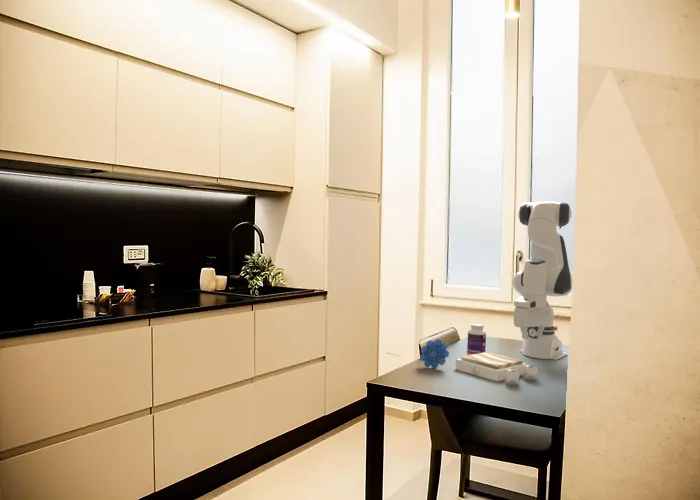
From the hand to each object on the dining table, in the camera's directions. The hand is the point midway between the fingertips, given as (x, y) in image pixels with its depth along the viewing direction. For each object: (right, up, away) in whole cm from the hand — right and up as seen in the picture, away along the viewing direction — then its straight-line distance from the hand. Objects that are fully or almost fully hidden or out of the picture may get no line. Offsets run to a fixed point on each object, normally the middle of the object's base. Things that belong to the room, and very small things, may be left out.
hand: (532, 337), depth 196 cm
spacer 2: (0, -16, +1) cm, 16 cm away
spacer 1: (-10, -16, -7) cm, 20 cm away
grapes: (-35, -15, +13) cm, 40 cm away
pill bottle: (-13, -15, +36) cm, 41 cm away
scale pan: (-13, -11, +10) cm, 20 cm away
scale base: (-13, -15, +10) cm, 22 cm away
